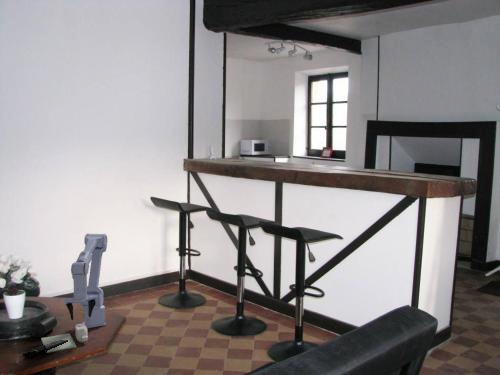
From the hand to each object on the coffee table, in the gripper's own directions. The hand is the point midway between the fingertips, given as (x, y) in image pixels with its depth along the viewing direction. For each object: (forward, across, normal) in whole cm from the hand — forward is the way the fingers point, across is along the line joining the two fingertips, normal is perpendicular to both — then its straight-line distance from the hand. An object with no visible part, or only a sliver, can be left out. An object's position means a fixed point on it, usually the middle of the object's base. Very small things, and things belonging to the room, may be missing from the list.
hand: (81, 317), depth 227 cm
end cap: (+10, -14, +14) cm, 22 cm away
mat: (+9, -10, -1) cm, 14 cm away
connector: (+10, 0, -1) cm, 10 cm away
